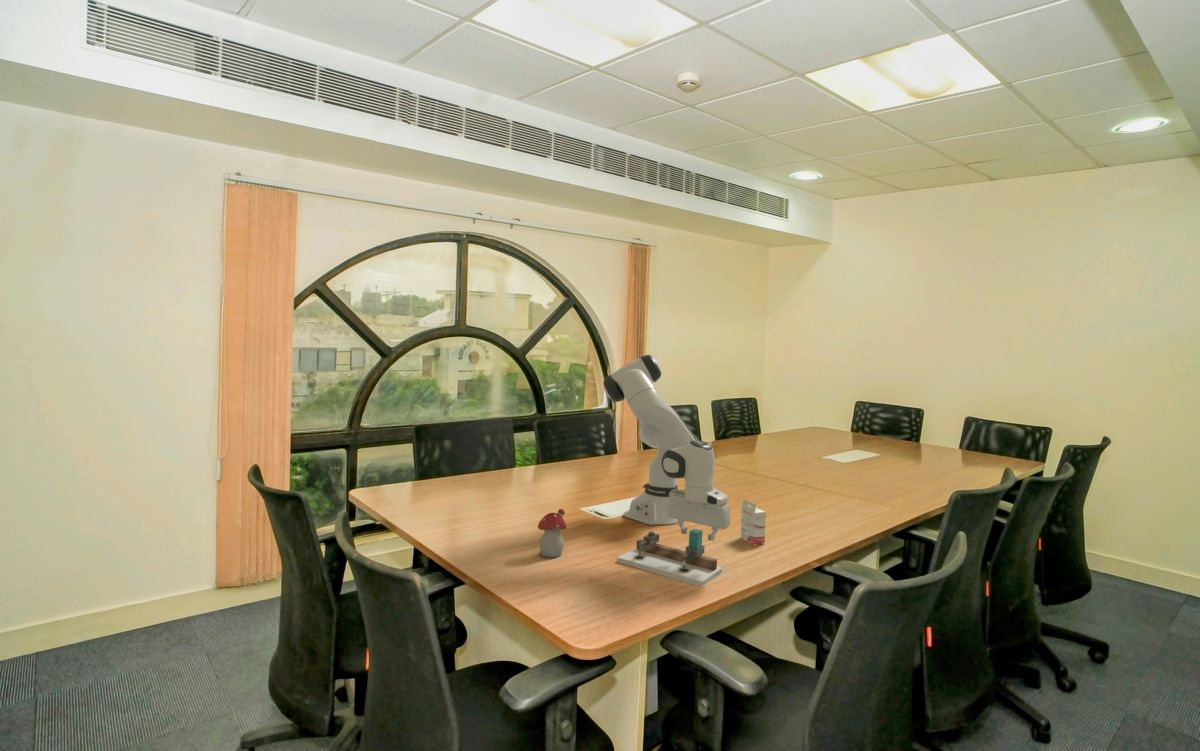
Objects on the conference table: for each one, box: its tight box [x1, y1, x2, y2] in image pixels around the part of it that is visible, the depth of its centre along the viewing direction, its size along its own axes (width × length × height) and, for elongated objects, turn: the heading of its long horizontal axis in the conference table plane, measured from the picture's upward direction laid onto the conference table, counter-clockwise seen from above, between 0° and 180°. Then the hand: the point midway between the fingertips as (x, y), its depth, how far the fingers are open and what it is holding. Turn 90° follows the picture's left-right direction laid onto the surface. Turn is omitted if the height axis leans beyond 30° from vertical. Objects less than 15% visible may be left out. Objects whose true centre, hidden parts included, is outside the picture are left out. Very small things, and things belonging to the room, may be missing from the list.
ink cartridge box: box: [740, 498, 767, 545], centre depth 214 cm, size 9×5×15 cm, turn 21°
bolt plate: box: [616, 547, 723, 588], centre depth 187 cm, size 30×14×2 cm, turn 54°
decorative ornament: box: [537, 508, 567, 559], centre depth 194 cm, size 9×7×15 cm
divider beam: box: [635, 530, 718, 571], centre depth 188 cm, size 28×10×7 cm, turn 54°
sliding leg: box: [682, 528, 705, 568], centre depth 184 cm, size 4×10×10 cm, turn 144°
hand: (697, 536), depth 186 cm, fingers open, 8 cm apart
